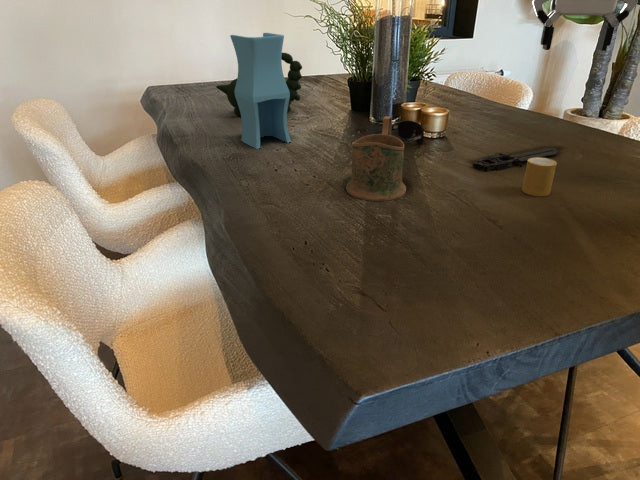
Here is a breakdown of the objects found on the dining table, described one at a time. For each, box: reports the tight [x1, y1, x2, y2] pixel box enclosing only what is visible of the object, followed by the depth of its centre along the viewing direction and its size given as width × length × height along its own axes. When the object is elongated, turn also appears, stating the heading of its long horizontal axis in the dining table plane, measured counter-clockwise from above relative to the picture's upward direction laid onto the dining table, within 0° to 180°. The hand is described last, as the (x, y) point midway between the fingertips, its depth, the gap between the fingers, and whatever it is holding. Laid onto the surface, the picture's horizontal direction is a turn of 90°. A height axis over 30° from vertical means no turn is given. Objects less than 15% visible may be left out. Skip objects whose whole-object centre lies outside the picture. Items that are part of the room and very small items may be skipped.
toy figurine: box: [215, 52, 303, 117], centre depth 145 cm, size 9×19×25 cm
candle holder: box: [521, 157, 558, 197], centre depth 92 cm, size 5×5×6 cm
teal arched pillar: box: [229, 32, 292, 150], centre depth 119 cm, size 10×10×25 cm
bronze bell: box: [345, 115, 407, 202], centre depth 95 cm, size 12×18×12 cm, turn 163°
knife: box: [472, 147, 560, 172], centre depth 109 cm, size 25×6×1 cm, turn 112°
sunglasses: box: [373, 119, 425, 146], centre depth 120 cm, size 10×12×5 cm
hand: (573, 49), depth 91 cm, fingers open, 9 cm apart
